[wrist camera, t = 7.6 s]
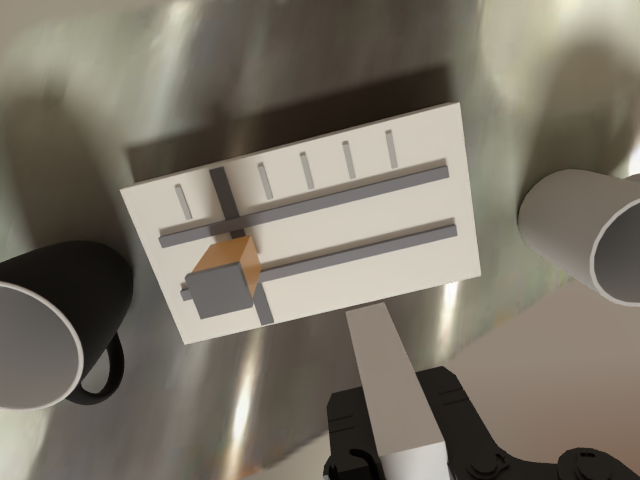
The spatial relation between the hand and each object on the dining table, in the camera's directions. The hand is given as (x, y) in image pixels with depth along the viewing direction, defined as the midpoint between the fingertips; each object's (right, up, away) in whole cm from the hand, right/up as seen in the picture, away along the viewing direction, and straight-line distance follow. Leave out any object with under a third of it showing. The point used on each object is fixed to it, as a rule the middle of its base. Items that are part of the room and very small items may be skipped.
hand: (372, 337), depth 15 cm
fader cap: (-8, +3, +13) cm, 16 cm away
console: (-3, +5, +16) cm, 17 cm away
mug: (-20, -1, +18) cm, 27 cm away
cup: (+18, +7, +17) cm, 26 cm away
